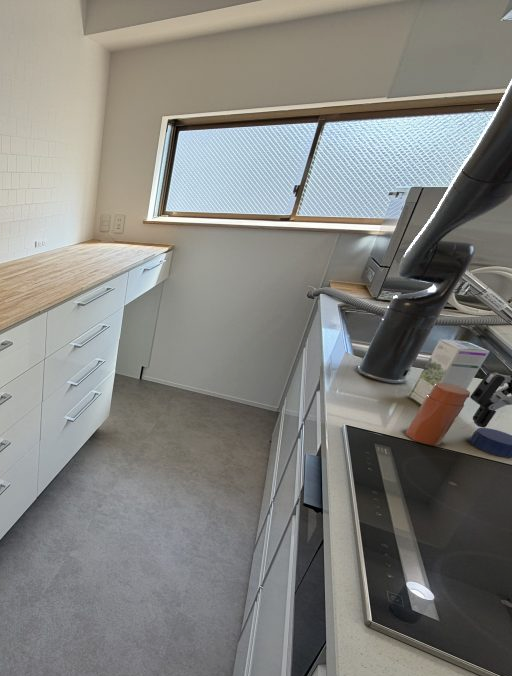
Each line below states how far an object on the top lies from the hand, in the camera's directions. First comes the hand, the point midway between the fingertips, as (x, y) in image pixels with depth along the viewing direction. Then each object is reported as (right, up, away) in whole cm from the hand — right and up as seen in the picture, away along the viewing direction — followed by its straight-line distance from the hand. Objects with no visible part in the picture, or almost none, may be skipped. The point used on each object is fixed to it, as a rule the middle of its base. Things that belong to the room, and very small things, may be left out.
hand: (508, 430), depth 76 cm
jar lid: (-1, -1, +1) cm, 2 cm away
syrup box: (+3, +4, +17) cm, 17 cm away
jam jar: (-12, -2, +4) cm, 13 cm away
